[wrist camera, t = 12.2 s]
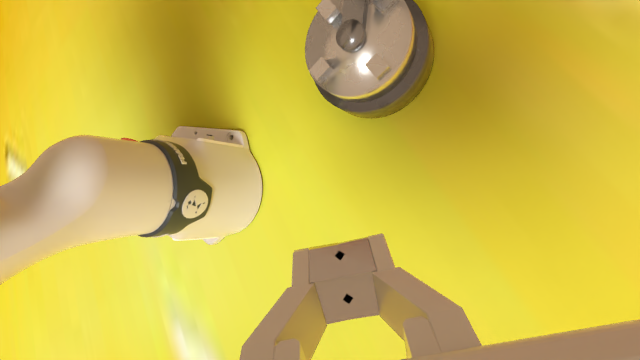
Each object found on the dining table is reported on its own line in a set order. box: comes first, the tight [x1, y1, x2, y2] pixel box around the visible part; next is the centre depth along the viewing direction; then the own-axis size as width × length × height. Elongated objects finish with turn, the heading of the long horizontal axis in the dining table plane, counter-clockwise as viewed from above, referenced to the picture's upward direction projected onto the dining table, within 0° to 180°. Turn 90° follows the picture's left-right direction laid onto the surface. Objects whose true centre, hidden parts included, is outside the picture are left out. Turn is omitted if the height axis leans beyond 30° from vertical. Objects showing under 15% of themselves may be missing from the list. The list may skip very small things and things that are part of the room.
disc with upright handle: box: [305, 0, 418, 103], centre depth 30 cm, size 14×12×16 cm
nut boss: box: [314, 0, 434, 118], centre depth 39 cm, size 14×15×5 cm
